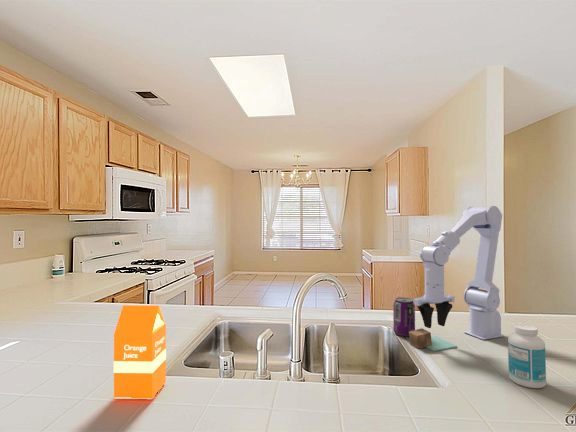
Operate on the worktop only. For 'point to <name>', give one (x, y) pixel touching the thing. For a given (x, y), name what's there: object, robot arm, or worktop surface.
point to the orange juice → (139, 352)
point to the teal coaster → (440, 344)
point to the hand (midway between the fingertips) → (434, 326)
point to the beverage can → (403, 316)
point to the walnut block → (420, 338)
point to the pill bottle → (527, 357)
